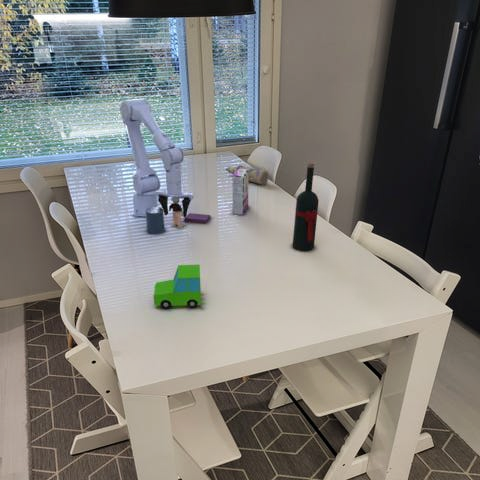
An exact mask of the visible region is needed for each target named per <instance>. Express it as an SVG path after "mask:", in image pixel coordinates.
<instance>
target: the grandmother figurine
mask: <svg viewBox="0 0 480 480" xmlns="http://www.w3.org/2000/svg"><path fill="white" fill-rule="evenodd" d="M170 198H171V199H170V201H171V202H173V203H170V205H168V212H171V211H172V221H173V225H172V226H173V227H176V228H178V229H180V228H181V229H182V228H184V227H185V225H184V224H183V223H182V219H181V216H183V215H184V214H183V207H182V204H179V203H180V198H179V197H170Z"/></svg>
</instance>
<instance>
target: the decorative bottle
mask: <svg viewBox="0 0 480 480" xmlns="http://www.w3.org/2000/svg"><path fill="white" fill-rule="evenodd" d="M238 169H248V170H249V178H248V182H250V183H255V184H258V185H261V186H264V185H266V184H267V183H268V181H269V173H268V171H267V170H262V169H258V168H255V167H250V166H246V165H241V164H239V165H237V166H227V167H226V168H225V170H226V171H227V172H228V173H230V174H232V175H234V174H235V172H236V171H237V170H238Z"/></svg>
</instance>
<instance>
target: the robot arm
mask: <svg viewBox="0 0 480 480" xmlns="http://www.w3.org/2000/svg"><path fill="white" fill-rule="evenodd" d="M119 106H120V107H119V112H120V115H121V119H122V123H123V125H124V126H125V128H126V133H127V136H128V140H129V144H130V148H131V151H132V155H133V159H134V160H133V161H134V163H135V168H136V170H135V172H134V173H133V175H132V181H133V183H132V184H133V189H134V191H135V192H134V194H133V197H132V205H133V213H134V214H133V216H134V217H145V218H146V209H147V208H151V207H159V206H158V204H160V206H161V208H162V209H163V215H164V216H167V215H168V214H169V205H168V202H169V198H172V197H179V199H181V206H182V210H183V214H184V215H183V218H185V217H186V216H187V215H188V211H189V210H188V209H189V207H190V204H191V202H192V200H193V199H194V193H193V192H187V191H184V190H183V189H182V188H183V187H182V165H181V163H183V161H184V159H185V158H184V152H183V150H182V147H180V146H178V145H176V144H174V143H173V141H172V139H171V138H170V136H169V135H168V134H167V132H166V131H164V130H161V128H160V126H159V124H158V123H157V121H156V119H155V117H154V115H153V114H152V106H151V104H150V102H149V101H148V100H147V98H145V97H142V98H135V99H123V100H122V101H121V104H120V105H119ZM142 124H143V126H144V127H146V129H147V130H148V131H149V132H150V134H151V135H152V142H153V143H154V145H155V146H156V148H157V150H158V151H159V153H160V154H161V156H160V158H161V161H162V164H163V169H164V170H165V184H166V189H165V190H164V189H162V190H160V188H161V179H160V178H159V176H158V173H157V171H156V170H155V169H154V168H152V167H151V166H150V162H149V158H148V154H147V150H146V146H145V141H144V138H143V133H142V130H141V125H142Z"/></svg>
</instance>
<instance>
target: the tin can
mask: <svg viewBox="0 0 480 480" xmlns="http://www.w3.org/2000/svg"><path fill="white" fill-rule="evenodd" d="M164 216H165V215H164V211H163V208H162V207H160V206H158V207H151V208H147V209H146V217H145V220H146V221H145V222H146V232H147V233H148V234H150V235H160V234H163V233H164V232H165V231H166V230H165V217H164Z"/></svg>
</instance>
